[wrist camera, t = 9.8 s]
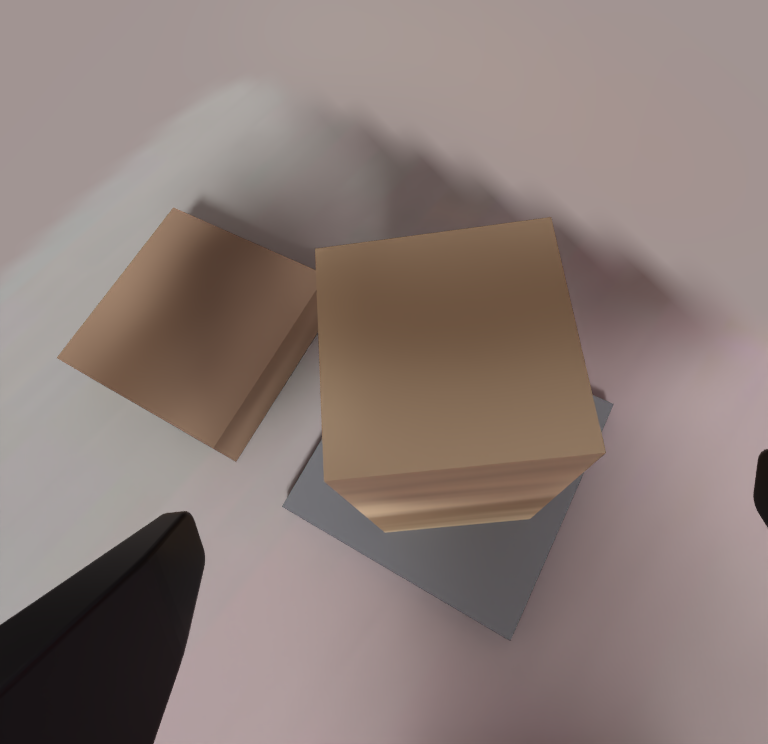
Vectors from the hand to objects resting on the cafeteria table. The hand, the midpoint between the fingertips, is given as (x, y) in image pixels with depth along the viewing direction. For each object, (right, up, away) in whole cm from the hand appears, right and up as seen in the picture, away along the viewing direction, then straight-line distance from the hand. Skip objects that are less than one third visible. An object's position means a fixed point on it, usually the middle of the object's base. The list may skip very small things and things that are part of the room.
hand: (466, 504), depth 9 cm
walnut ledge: (-8, +3, +12) cm, 15 cm away
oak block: (+1, -1, +9) cm, 9 cm away
